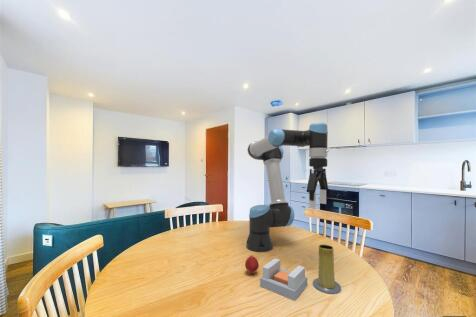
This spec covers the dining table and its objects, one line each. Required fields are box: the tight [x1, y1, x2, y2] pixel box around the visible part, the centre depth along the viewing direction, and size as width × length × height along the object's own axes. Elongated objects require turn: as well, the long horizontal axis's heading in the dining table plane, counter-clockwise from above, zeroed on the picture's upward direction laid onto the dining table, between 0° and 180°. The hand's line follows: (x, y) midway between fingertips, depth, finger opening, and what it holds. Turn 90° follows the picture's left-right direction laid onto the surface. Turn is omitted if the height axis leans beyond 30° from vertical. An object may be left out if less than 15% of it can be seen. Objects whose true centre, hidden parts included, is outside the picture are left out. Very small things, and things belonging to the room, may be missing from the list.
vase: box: [317, 244, 336, 289], centre depth 80 cm, size 6×6×14 cm
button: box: [274, 270, 290, 285], centre depth 80 cm, size 6×6×4 cm
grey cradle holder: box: [259, 258, 308, 301], centre depth 80 cm, size 14×12×7 cm
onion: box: [244, 254, 260, 275], centre depth 89 cm, size 6×6×8 cm
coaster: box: [312, 277, 342, 295], centre depth 80 cm, size 10×10×1 cm
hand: (318, 205), depth 92 cm, fingers open, 13 cm apart
